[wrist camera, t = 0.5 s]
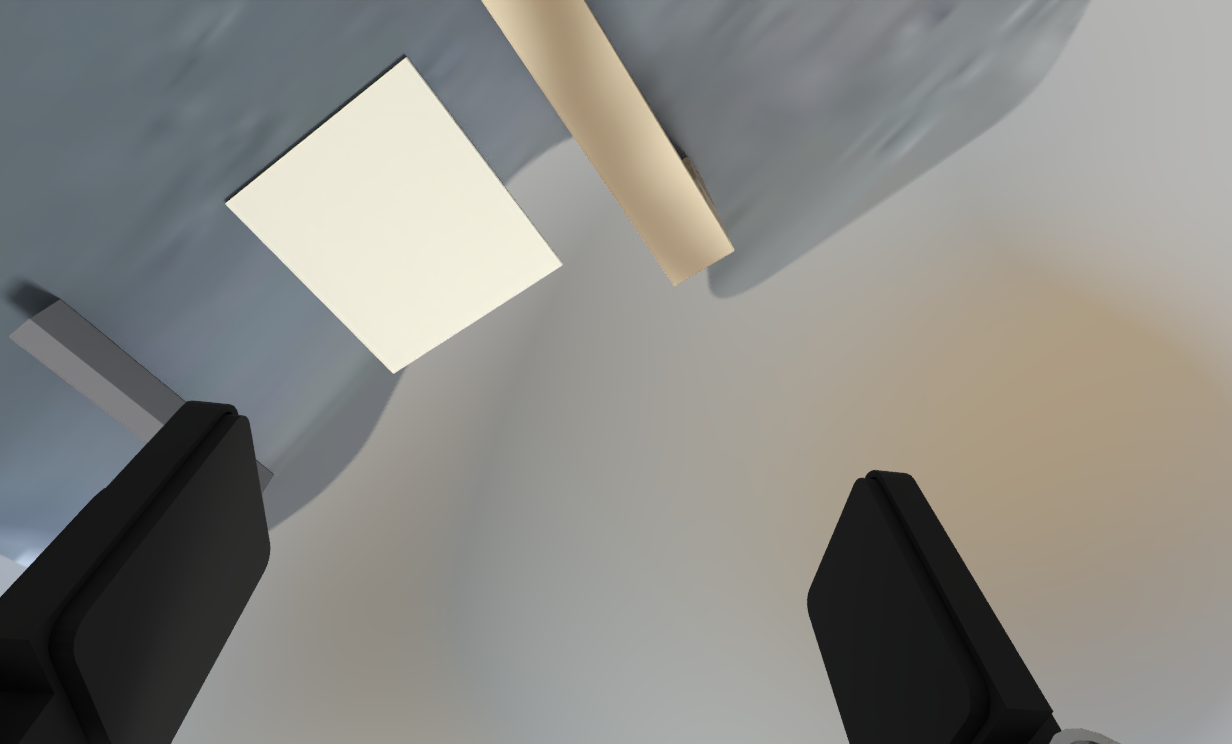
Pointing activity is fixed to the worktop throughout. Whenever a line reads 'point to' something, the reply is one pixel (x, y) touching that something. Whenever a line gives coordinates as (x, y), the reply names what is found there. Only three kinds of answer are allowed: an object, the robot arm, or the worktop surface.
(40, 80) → the worktop surface
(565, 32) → the bridge
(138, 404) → the wall
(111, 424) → the worktop surface
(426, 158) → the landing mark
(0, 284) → the worktop surface
